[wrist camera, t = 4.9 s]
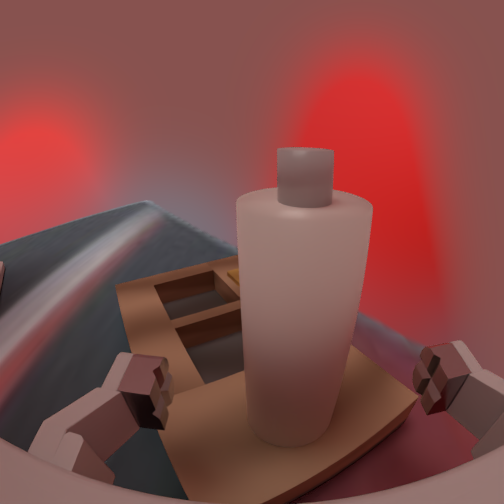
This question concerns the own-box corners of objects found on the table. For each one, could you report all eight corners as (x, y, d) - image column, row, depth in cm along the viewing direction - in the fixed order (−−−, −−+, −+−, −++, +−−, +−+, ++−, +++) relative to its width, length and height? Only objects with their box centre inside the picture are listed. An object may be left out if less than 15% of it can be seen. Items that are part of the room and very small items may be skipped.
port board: (121, 308, 25) (114, 280, 24) (238, 277, 30) (237, 251, 29) (212, 535, 8) (202, 524, 7) (403, 422, 13) (421, 391, 12)
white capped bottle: (245, 448, 11) (226, 157, 6) (248, 383, 15) (238, 145, 10) (336, 443, 11) (401, 162, 6) (324, 381, 14) (351, 147, 10)
